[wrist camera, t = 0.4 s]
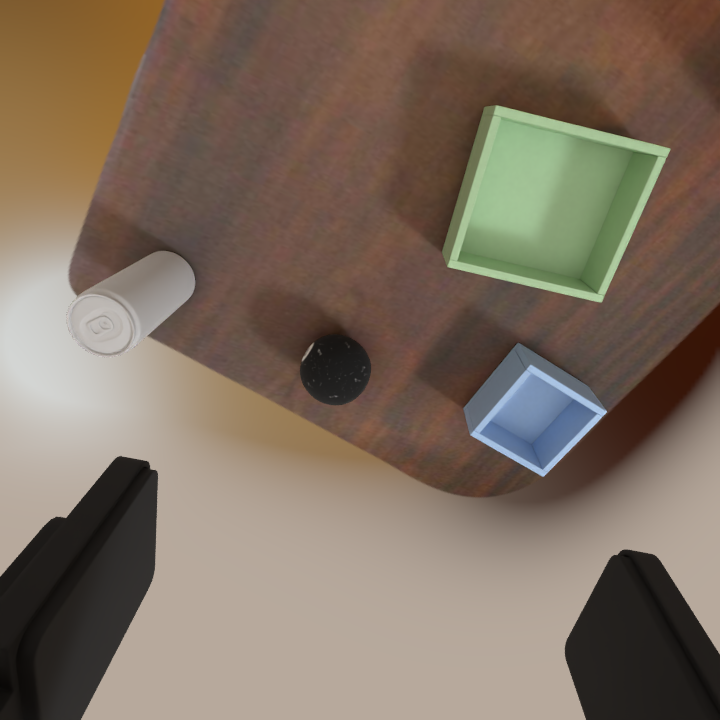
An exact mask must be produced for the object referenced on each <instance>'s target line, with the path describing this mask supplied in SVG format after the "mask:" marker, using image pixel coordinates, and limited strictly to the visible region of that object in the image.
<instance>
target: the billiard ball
mask: <svg viewBox="0 0 720 720" xmlns="http://www.w3.org/2000/svg"><path fill="white" fill-rule="evenodd" d="M370 373H371V364H370V360H369V357H368V355H367V353H366V351H365V350H364V349H363V348H362V346H361V345H360V344H359V343H357V342H356V341H355V340H353V339H351V338H349V337H346V336H343V335H338V334H332V335H327V336H324V337H321V338H320V339H318V340H316V341H315V342H314V343H313V344H312V345H311V346H310V347H309V348H308V350H307V351H306V353H305V354H304V356H303V359H302V362H301V367H300V375H301V380H302V383H303V385H304V387H305V388H306V390H307V391H308V392H309V394H310V395H311V396H313V397H314V398H315V399H317V400H318V401H320V402H322V403H325V404H329V405H343V404H346V403H349V402H351V401H353V400H354V399H356V398H357V397H358V396H359V395H360V394H361V393H362V392H363V390H364V389H365V387H366V385H367V383H368V381H369V378H370Z"/></svg>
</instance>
